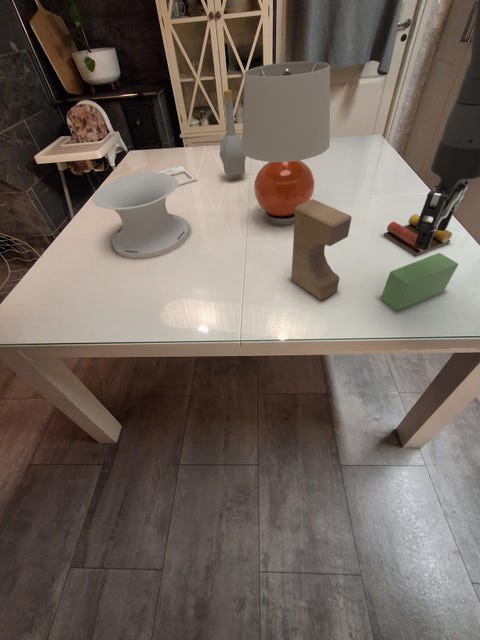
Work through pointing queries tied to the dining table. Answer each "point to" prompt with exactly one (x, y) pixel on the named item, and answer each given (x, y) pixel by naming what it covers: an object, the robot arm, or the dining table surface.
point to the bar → (418, 281)
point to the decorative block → (316, 246)
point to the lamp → (285, 132)
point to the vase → (143, 214)
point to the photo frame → (176, 171)
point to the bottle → (231, 143)
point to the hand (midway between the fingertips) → (430, 238)
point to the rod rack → (414, 236)
